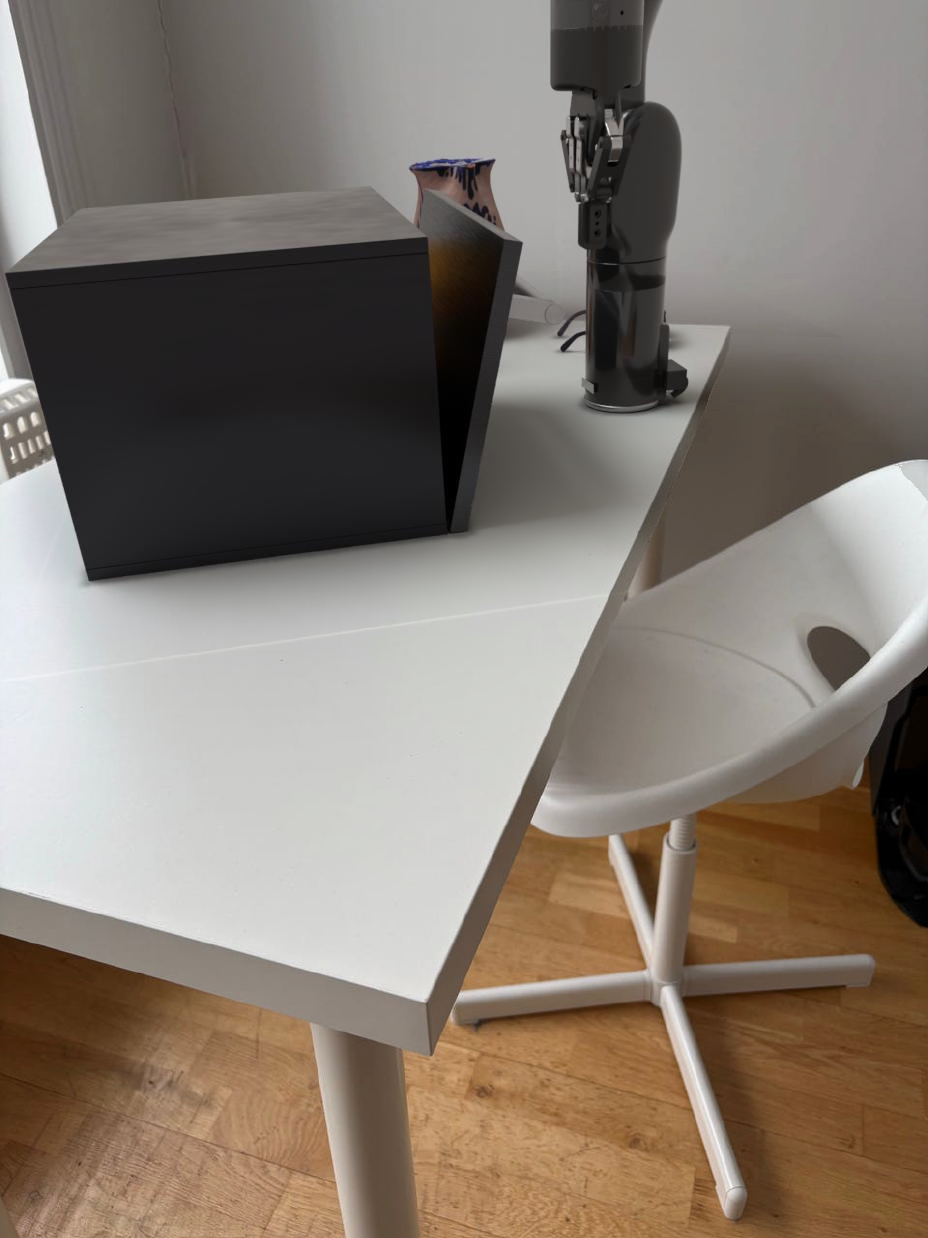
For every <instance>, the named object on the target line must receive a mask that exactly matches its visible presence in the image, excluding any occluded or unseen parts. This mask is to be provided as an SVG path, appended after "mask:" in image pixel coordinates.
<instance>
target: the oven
mask: <svg viewBox="0 0 928 1238" xmlns="http://www.w3.org/2000/svg"><path fill="white" fill-rule="evenodd" d="M428 252H429V248H428V237H427V236H426V235H425V234H424V233H423V232H421V231H420V230H419V229H418V228H417V227H416V226H415V225H414V224H413V222H412V221H411V220H409V219H408V218H407V217H406V216H405V215H403V214H402V212H400V211H399V210H398V209H397V208H396V207H395V206H394V205H392V203H390V202H389V201H388V200H387V199H386V198H385V197H384V196H382V195H381V194H380V193H379V192H378V191H377V190H375V188H374V187H372V186H369V185H368V186H357V187H356V186H355V187H344V188H331V189H330V188H329V189H318V190H317V189H315V190H304V191H292V192H291V191H289V192H278V193H266V194H253V195H251V194H250V195H239V196H228V197H226V196H225V197H214V198H200V199H188V200H173V201H161V202H160V201H159V202H148V203H147V202H146V203H136V204H135V203H133V204H124V205H123V204H122V205H112V206H111V205H109V206H97V207H85V208H84V207H83V208H79V210H77V211H76V212H74V214H72V215H71V216H70V217H69V218H68V219H66V221H64V222H63V223H62V224H61V225H60V226H58V228H56V229H54V231H52V232H51V233H50V234H49V235H48V236H47V237H45V238H44V239H43V240H42V241H41V242H40V243H38V244H37V245H36V246H35V247H33V249H31V250H30V251H29V252H27V254H25V255H24V256H23V257H22V258H21V259H20V260H18V261H17V262H16V263H15V264H14V265H12V266H11V267H10V268H9V269H7V270H6V271H5V272H4V276H5V281H6V284H7V288H8V289H9V294H10V298H11V302H12V305H13V306H12V307H13V309H14V312H15V316H16V321H17V324H18V328H19V331H20V334H21V335H20V336H21V338H22V342H23V346H24V350H25V353H26V357H27V361H28V364H29V367H30V371H31V376H32V378H33V382H34V386H35V389H36V393H37V397H38V401H39V404H40V408H41V412H42V415H43V419H44V422H45V426H46V430H47V434H48V437H49V442H50V445H51V448H52V453H53V455H54V459H55V462H56V466H57V470H58V474H59V477H60V481H61V485H62V489H63V492H64V496H65V499H66V503H67V507H68V512H69V514H70V518H71V522H72V525H73V529H74V533H75V536H76V539H77V544H78V547H79V550H80V555H81V558H82V562H83V565H84V566H83V567H84V569H85V574H86V577H87V580H88V582H94V581H101V580H107V579H116V578H124V577H132V576H140V575H147V574H155V573H162V572H163V573H164V572H171V571H177V570H185V569H186V570H187V569H193V568H201V567H208V566H209V567H210V566H216V565H225V564H231V563H239V562H249V561H254V560H256V561H257V560H262V559H263V560H264V559H270V558H278V557H286V556H292V555H301V554H307V553H317V552H325V551H333V550H339V549H347V548H354V547H361V546H371V545H377V544H386V543H393V542H394V543H395V542H402V541H407V540H415V539H424V538H431V537H439V536H447V535H448V525H447V523H446V507H445V492H444V477H443V462H442V446H441V431H440V416H439V400H438V385H437V370H436V355H435V339H434V324H433V309H432V294H431V278H430V263H429V253H428Z"/></svg>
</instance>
